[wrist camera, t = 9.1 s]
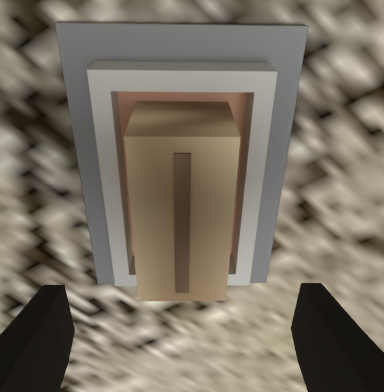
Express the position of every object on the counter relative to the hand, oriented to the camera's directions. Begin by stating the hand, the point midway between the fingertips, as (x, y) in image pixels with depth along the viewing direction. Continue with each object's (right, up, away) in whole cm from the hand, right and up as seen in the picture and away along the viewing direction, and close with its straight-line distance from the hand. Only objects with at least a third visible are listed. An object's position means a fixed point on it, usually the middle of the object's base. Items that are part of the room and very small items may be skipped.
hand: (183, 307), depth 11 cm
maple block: (0, +4, +7) cm, 8 cm away
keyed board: (0, +4, +7) cm, 8 cm away
